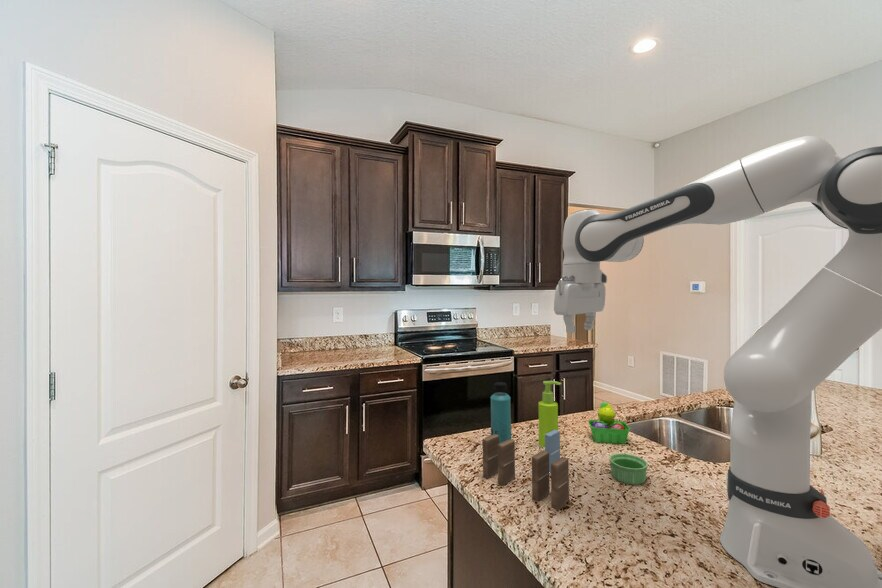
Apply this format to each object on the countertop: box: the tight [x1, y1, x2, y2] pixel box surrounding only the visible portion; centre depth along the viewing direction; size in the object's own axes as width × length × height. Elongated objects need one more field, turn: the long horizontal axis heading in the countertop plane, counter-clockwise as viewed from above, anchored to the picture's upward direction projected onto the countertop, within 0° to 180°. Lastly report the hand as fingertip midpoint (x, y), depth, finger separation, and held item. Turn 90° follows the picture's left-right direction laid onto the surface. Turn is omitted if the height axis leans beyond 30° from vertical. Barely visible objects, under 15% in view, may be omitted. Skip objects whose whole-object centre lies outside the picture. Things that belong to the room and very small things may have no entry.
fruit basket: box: [587, 401, 631, 445], centre depth 124 cm, size 11×9×11 cm
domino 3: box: [531, 449, 551, 503], centre depth 91 cm, size 2×5×10 cm, turn 134°
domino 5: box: [550, 456, 570, 512], centre depth 87 cm, size 2×5×10 cm, turn 134°
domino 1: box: [482, 434, 499, 480], centre depth 101 cm, size 2×5×10 cm, turn 134°
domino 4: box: [544, 430, 561, 474], centre depth 104 cm, size 2×5×10 cm, turn 134°
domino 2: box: [497, 438, 516, 487], centre depth 98 cm, size 2×5×10 cm, turn 133°
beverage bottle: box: [490, 381, 512, 444], centre depth 119 cm, size 6×7×20 cm
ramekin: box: [608, 453, 649, 485], centre depth 99 cm, size 9×9×4 cm
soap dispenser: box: [538, 380, 562, 448], centre depth 120 cm, size 6×7×20 cm
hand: (579, 331), depth 96 cm, fingers open, 8 cm apart
